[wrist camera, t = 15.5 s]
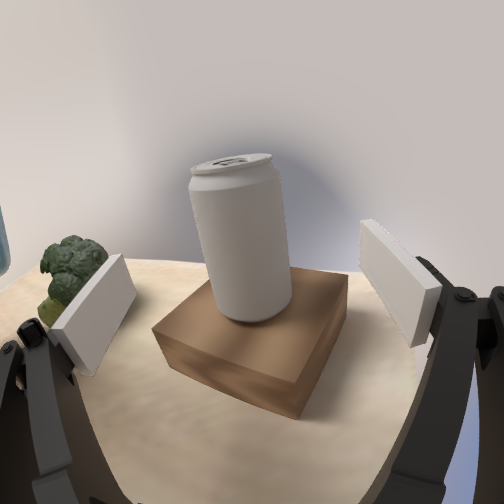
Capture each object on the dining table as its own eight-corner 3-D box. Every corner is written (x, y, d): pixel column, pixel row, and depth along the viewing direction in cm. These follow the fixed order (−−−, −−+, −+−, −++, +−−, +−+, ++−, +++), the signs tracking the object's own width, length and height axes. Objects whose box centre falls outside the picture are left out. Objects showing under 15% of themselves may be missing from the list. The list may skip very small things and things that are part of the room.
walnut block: (169, 367, 24) (151, 328, 22) (240, 294, 34) (233, 258, 32) (297, 419, 17) (294, 382, 15) (346, 315, 27) (348, 274, 25)
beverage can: (276, 276, 27) (259, 149, 22) (305, 312, 21) (292, 154, 16) (212, 294, 25) (182, 165, 20) (227, 338, 20) (187, 174, 15)
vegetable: (55, 287, 38) (109, 228, 39) (91, 351, 36) (153, 293, 37) (4, 281, 26) (61, 204, 27) (40, 363, 24) (107, 290, 25)
